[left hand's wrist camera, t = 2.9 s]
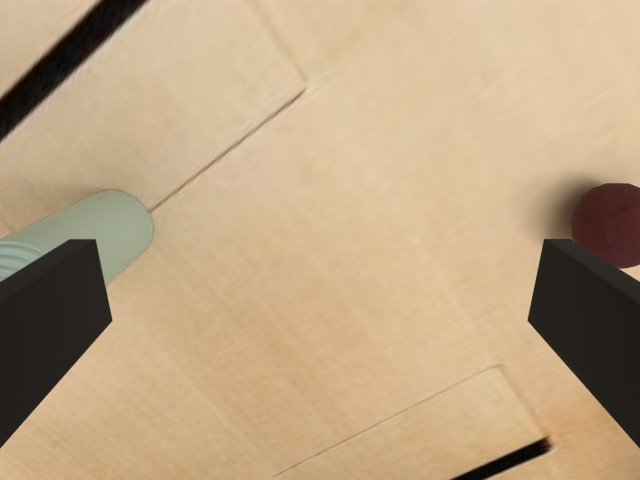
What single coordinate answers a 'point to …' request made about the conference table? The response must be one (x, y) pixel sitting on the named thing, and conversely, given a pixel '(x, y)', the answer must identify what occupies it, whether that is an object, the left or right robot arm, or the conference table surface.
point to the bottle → (85, 233)
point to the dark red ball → (610, 223)
